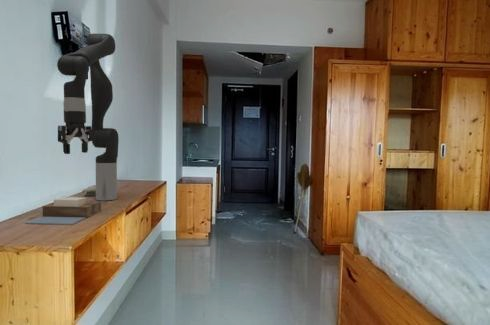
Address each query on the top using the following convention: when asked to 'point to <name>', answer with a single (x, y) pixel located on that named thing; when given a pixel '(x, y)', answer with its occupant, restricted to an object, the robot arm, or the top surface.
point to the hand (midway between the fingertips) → (76, 153)
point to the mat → (56, 220)
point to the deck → (72, 210)
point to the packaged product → (90, 190)
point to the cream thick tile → (70, 201)
